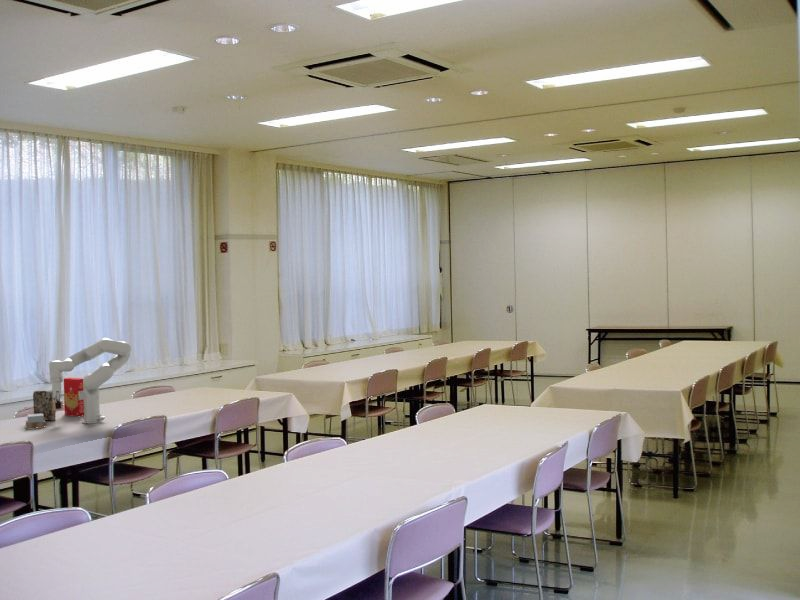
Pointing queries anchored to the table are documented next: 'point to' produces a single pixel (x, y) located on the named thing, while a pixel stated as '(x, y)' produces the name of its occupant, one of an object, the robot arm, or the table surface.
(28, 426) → the tower base slab
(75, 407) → the food packaging
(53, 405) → the terracotta cube
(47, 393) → the stone block
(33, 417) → the tower top slab
